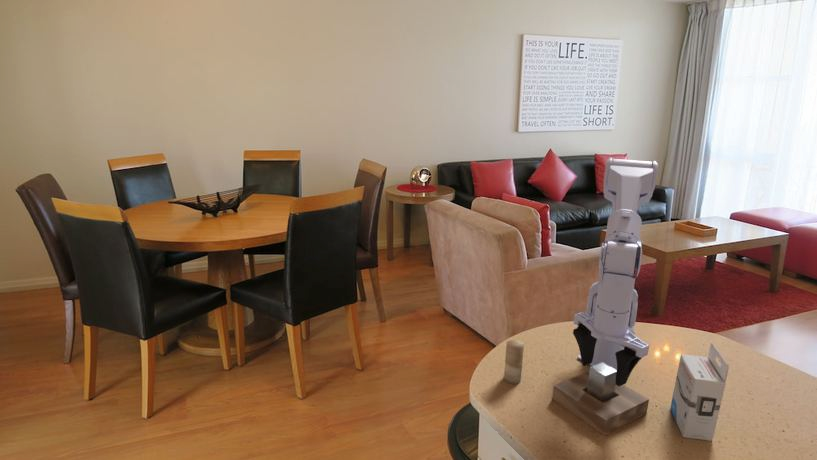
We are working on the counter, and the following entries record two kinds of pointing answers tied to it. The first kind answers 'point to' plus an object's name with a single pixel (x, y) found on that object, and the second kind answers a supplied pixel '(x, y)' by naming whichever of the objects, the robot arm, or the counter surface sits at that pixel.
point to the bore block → (600, 404)
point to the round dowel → (513, 361)
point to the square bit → (601, 382)
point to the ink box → (699, 394)
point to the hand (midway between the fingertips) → (603, 373)
